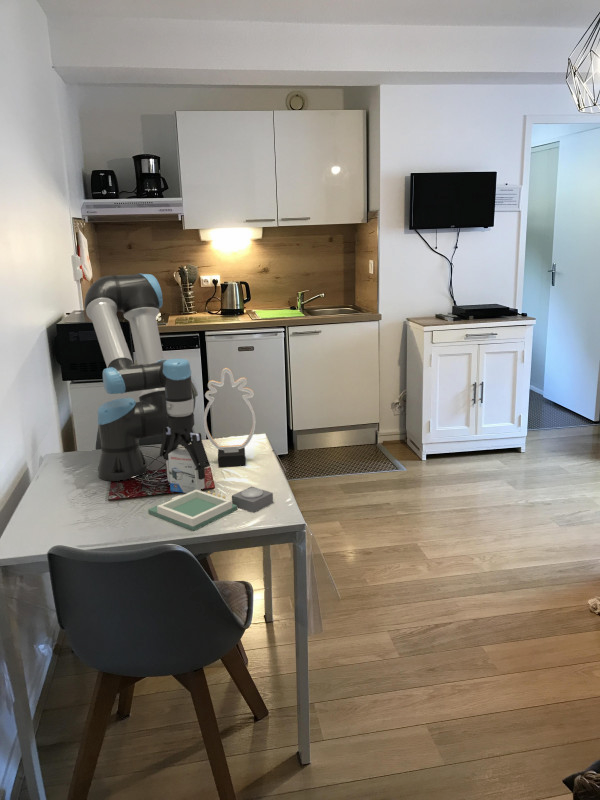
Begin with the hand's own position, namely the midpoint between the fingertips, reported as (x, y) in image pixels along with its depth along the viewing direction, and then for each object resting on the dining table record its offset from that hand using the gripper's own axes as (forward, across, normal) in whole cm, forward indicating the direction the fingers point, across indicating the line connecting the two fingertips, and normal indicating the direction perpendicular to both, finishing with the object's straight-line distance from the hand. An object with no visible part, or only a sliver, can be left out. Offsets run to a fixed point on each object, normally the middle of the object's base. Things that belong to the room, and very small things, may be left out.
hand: (186, 484), depth 190 cm
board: (+2, +13, -9) cm, 16 cm away
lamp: (+2, -6, +25) cm, 26 cm away
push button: (+2, +23, +4) cm, 23 cm away
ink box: (+2, 0, 0) cm, 2 cm away
